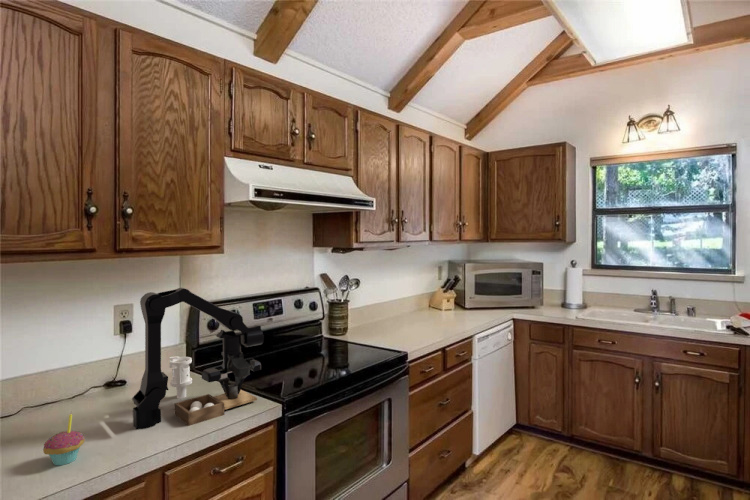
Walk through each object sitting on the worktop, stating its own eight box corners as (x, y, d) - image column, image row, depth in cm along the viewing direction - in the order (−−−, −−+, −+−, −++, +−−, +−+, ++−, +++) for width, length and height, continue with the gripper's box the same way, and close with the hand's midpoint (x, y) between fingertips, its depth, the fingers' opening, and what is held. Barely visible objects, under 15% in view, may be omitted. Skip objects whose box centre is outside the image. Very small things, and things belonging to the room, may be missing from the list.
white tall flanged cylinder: (173, 396, 154) (172, 354, 153) (194, 394, 155) (193, 353, 155) (167, 403, 147) (166, 359, 146) (189, 402, 148) (189, 358, 148)
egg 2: (191, 422, 130) (191, 410, 130) (186, 418, 133) (186, 407, 133) (203, 418, 133) (202, 407, 133) (198, 415, 135) (197, 404, 135)
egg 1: (193, 416, 135) (192, 404, 135) (188, 412, 137) (188, 401, 137) (204, 412, 137) (204, 401, 137) (199, 409, 140) (199, 398, 140)
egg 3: (206, 417, 133) (206, 406, 133) (201, 414, 136) (201, 403, 136) (217, 414, 136) (217, 403, 136) (212, 411, 139) (212, 400, 138)
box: (188, 428, 128) (188, 413, 128) (174, 417, 136) (174, 403, 136) (224, 417, 136) (224, 403, 136) (208, 407, 144) (208, 393, 143)
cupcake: (68, 450, 115) (67, 405, 115) (93, 455, 113) (92, 409, 112) (35, 467, 107) (33, 419, 107) (61, 472, 105) (59, 423, 104)
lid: (224, 409, 138) (224, 394, 137) (208, 400, 146) (208, 386, 146) (256, 400, 146) (256, 385, 146) (240, 391, 154) (240, 378, 154)
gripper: (216, 359, 133) (216, 410, 133) (269, 348, 146) (269, 394, 147) (200, 353, 141) (201, 400, 141) (252, 342, 154) (253, 386, 154)
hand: (232, 395), depth 146 cm, fingers open, 3 cm apart
